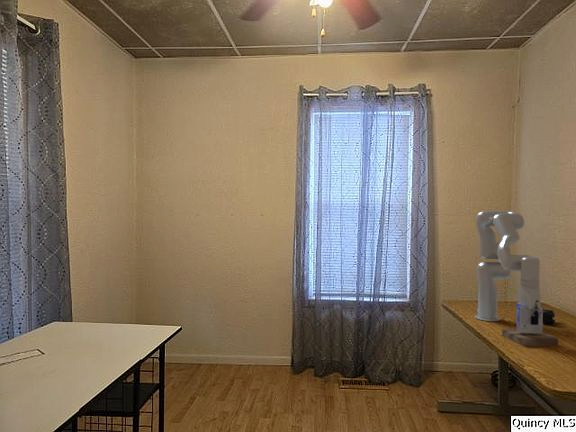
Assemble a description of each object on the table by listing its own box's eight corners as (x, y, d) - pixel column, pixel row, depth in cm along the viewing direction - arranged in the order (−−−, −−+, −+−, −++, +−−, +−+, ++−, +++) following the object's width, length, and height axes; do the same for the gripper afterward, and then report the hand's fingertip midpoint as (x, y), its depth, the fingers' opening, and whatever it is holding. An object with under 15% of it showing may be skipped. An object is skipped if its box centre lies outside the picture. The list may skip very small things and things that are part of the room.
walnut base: (502, 335, 201) (502, 329, 201) (533, 334, 202) (533, 328, 202) (524, 346, 185) (524, 339, 185) (558, 345, 186) (558, 338, 186)
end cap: (537, 319, 231) (537, 307, 231) (552, 321, 228) (552, 309, 228) (538, 324, 222) (539, 311, 222) (554, 325, 219) (554, 313, 219)
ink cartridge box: (538, 329, 195) (539, 298, 195) (543, 333, 190) (543, 301, 190) (515, 328, 197) (516, 297, 197) (519, 331, 192) (520, 300, 192)
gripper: (510, 280, 202) (509, 317, 202) (535, 287, 184) (534, 327, 185) (525, 280, 202) (524, 317, 203) (550, 287, 185) (550, 327, 185)
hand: (529, 322), depth 194 cm, fingers closed on ink cartridge box, 6 cm apart
